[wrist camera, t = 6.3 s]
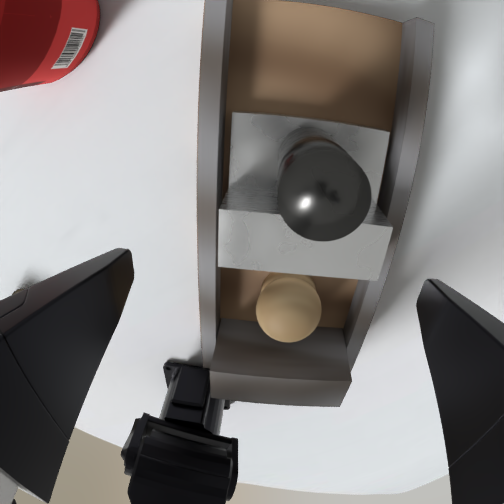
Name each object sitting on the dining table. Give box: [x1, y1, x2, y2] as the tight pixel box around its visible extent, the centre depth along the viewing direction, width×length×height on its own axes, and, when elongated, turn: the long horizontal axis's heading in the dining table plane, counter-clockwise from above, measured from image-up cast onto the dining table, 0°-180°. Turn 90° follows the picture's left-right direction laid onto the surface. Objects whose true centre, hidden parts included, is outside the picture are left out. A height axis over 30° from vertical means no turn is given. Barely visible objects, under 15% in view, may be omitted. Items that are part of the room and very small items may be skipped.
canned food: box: [0, 0, 100, 92], centre depth 10 cm, size 8×8×11 cm
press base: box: [197, 0, 434, 407], centre depth 17 cm, size 24×12×7 cm, turn 177°
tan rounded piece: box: [256, 272, 322, 342], centre depth 19 cm, size 4×4×4 cm
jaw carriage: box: [218, 111, 393, 281], centre depth 14 cm, size 7×8×7 cm
